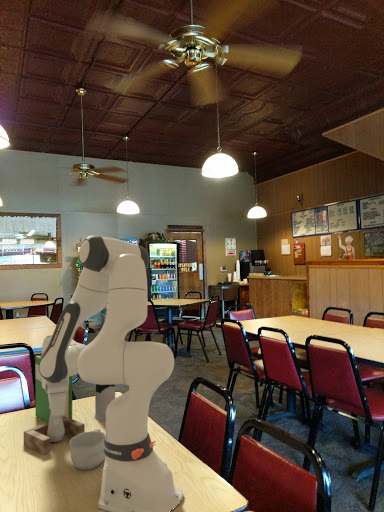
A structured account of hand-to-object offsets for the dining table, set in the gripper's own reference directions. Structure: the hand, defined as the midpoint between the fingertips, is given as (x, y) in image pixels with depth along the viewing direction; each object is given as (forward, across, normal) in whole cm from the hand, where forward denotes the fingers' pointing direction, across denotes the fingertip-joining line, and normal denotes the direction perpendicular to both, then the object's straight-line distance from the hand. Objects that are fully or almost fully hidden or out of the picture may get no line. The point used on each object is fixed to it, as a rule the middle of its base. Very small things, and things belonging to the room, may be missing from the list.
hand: (55, 421), depth 129 cm
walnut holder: (+7, -1, 0) cm, 7 cm away
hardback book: (+7, -21, +1) cm, 22 cm away
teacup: (+7, +20, +8) cm, 23 cm away
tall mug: (+7, -17, +19) cm, 27 cm away
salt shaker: (+6, 0, 0) cm, 6 cm away
